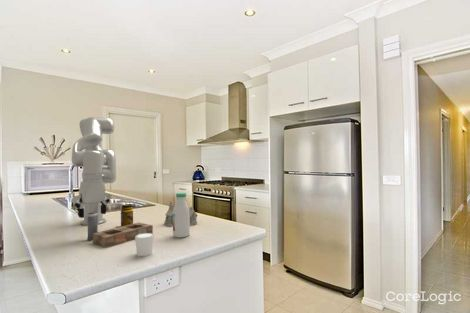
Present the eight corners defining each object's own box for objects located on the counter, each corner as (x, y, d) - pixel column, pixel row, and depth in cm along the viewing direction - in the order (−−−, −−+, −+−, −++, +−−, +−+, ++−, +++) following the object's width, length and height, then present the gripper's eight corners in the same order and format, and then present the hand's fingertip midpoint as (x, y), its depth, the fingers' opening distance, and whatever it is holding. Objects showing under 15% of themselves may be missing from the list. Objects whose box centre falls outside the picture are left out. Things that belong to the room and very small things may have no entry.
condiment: (135, 227, 136) (135, 205, 136) (117, 230, 131) (117, 206, 131) (132, 224, 142) (132, 203, 142) (115, 227, 137) (115, 204, 137)
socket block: (92, 242, 112) (92, 233, 112) (138, 230, 131) (138, 222, 131) (106, 247, 105) (106, 237, 105) (153, 233, 124) (153, 225, 124)
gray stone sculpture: (160, 223, 144) (162, 196, 144) (185, 219, 155) (187, 195, 155) (174, 230, 132) (176, 202, 132) (200, 226, 143) (202, 199, 143)
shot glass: (138, 250, 102) (138, 232, 102) (155, 249, 102) (155, 232, 102) (132, 257, 95) (132, 238, 95) (151, 256, 96) (151, 237, 96)
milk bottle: (192, 233, 124) (192, 192, 124) (184, 238, 116) (184, 194, 117) (178, 232, 126) (178, 191, 126) (169, 237, 119) (169, 194, 119)
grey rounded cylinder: (85, 239, 116) (85, 213, 116) (94, 237, 120) (94, 211, 120) (90, 241, 114) (90, 214, 114) (99, 238, 117) (99, 212, 117)
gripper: (106, 176, 126) (106, 211, 125) (67, 178, 112) (67, 218, 111) (115, 176, 122) (115, 213, 121) (76, 179, 107) (76, 220, 107)
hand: (92, 215), depth 116 cm, fingers open, 9 cm apart
